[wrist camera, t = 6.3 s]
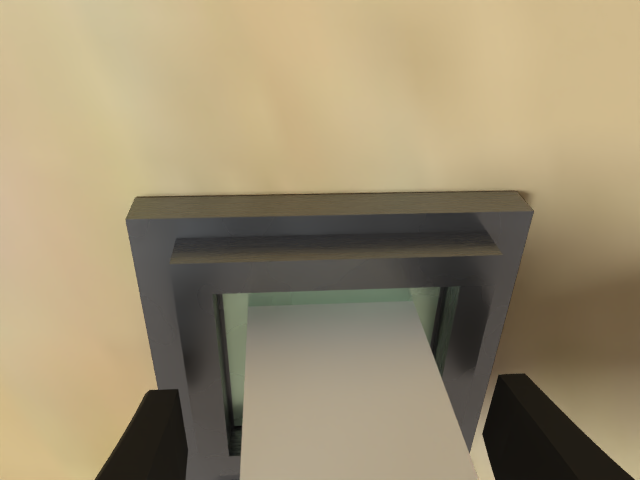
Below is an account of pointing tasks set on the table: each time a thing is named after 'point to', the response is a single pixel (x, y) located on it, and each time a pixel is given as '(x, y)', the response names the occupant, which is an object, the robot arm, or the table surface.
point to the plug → (346, 397)
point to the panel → (317, 288)
